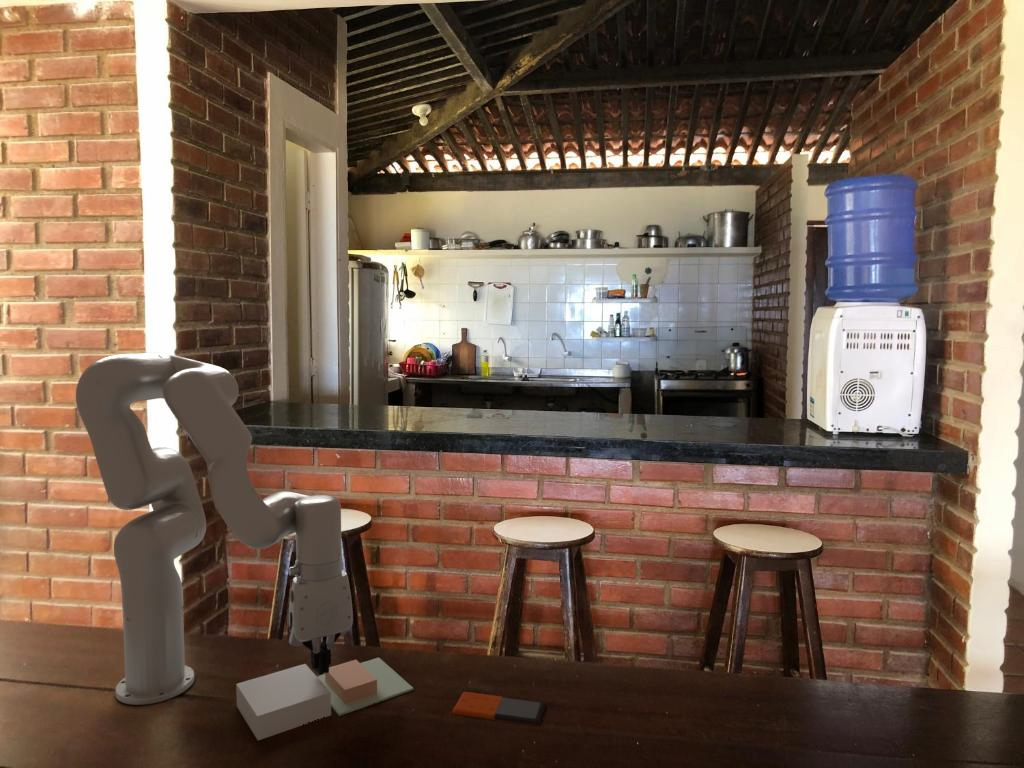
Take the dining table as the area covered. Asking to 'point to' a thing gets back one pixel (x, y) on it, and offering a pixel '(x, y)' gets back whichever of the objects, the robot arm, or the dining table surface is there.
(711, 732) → the dining table surface
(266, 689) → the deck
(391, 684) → the mat
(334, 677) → the salmon rectangular block
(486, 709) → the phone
